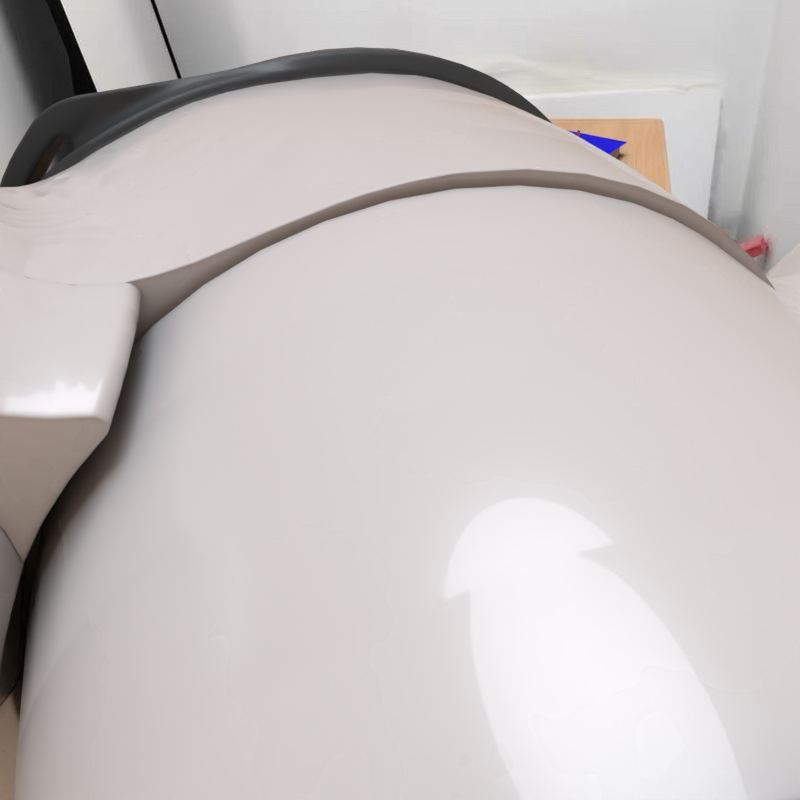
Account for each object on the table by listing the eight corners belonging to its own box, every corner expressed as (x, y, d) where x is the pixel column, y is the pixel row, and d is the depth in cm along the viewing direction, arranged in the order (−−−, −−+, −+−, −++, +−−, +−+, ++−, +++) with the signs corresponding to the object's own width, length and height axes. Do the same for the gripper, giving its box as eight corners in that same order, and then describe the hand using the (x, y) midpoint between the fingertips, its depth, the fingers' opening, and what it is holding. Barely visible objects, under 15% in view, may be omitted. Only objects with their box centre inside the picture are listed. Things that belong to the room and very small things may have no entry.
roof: (527, 165, 133) (528, 133, 129) (564, 142, 140) (566, 112, 136) (590, 179, 126) (593, 146, 123) (625, 155, 133) (629, 123, 130)
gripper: (950, 613, 48) (739, 502, 56) (793, 864, 38) (563, 682, 46) (915, 671, 52) (723, 559, 60) (763, 913, 42) (556, 737, 50)
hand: (652, 614), depth 53 cm, fingers open, 8 cm apart
